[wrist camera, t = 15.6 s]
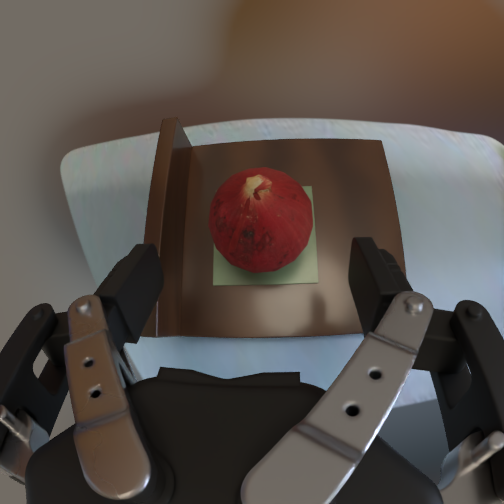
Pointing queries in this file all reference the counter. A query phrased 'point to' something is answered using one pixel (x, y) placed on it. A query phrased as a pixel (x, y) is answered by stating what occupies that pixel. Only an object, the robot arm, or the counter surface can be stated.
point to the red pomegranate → (260, 219)
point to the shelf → (286, 278)
